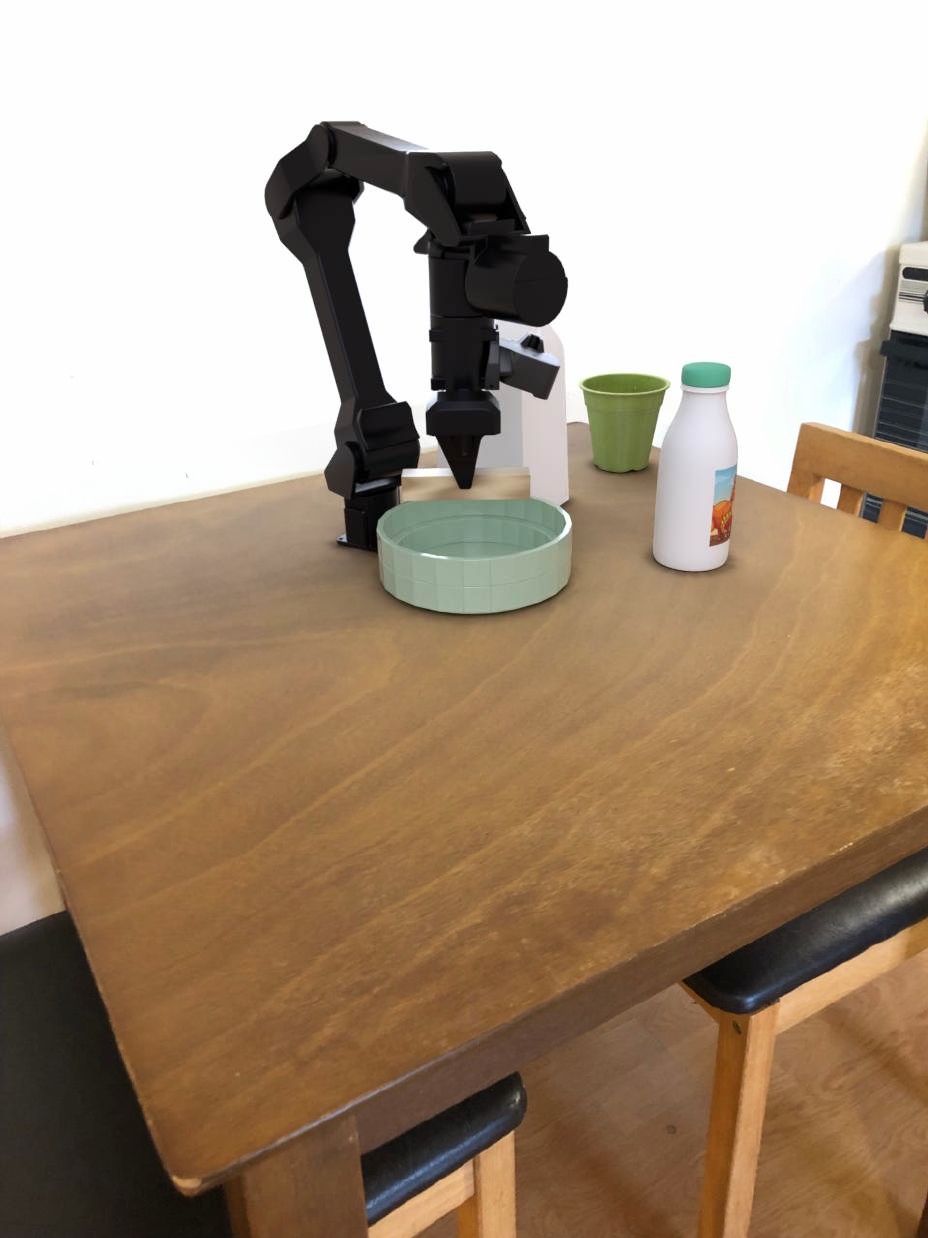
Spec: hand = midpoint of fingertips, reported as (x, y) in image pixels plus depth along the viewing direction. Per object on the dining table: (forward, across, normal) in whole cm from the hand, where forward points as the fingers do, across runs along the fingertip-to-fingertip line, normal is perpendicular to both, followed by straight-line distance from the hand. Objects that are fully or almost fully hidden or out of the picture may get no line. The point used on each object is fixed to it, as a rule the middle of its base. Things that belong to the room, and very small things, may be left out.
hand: (465, 484), depth 88 cm
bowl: (+11, +2, -1) cm, 11 cm away
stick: (+1, 0, 0) cm, 1 cm away
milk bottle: (+11, +6, -23) cm, 26 cm away
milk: (+11, +23, -4) cm, 26 cm away
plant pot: (+11, +38, -21) cm, 45 cm away
